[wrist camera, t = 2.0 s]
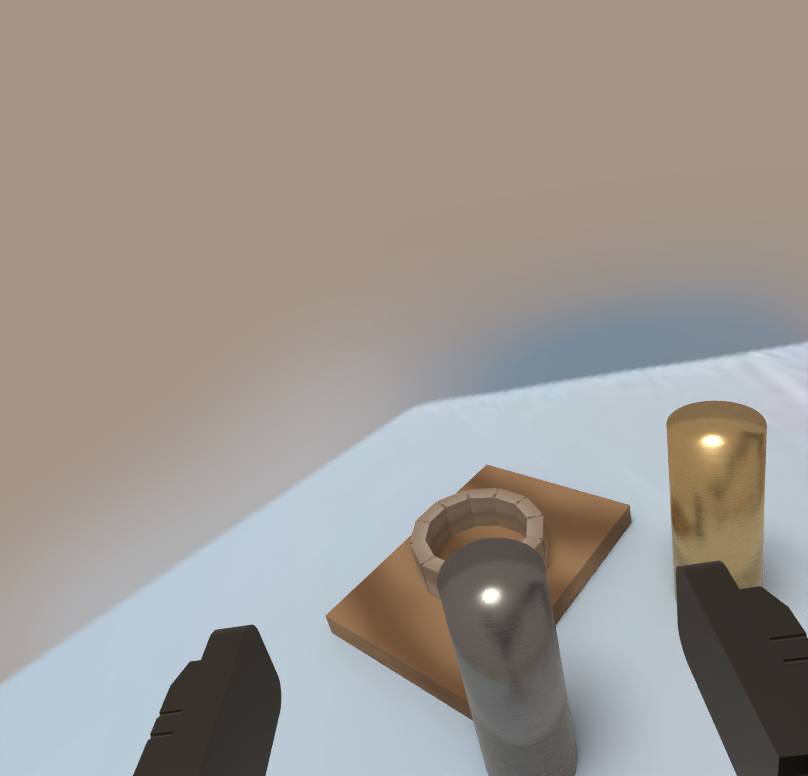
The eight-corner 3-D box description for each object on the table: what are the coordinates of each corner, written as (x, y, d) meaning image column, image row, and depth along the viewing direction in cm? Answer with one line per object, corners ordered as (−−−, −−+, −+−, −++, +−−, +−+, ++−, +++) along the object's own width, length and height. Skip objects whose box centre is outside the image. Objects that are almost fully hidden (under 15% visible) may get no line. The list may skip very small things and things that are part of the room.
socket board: (489, 479, 52) (481, 438, 51) (631, 522, 44) (627, 475, 43) (331, 632, 42) (314, 586, 40) (480, 725, 34) (467, 673, 32)
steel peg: (516, 699, 34) (478, 526, 29) (593, 743, 31) (566, 558, 26) (466, 768, 32) (415, 590, 26) (546, 823, 29) (505, 635, 23)
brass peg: (692, 561, 40) (686, 395, 35) (771, 586, 37) (778, 409, 32) (662, 609, 37) (652, 437, 32) (746, 641, 34) (749, 457, 29)
